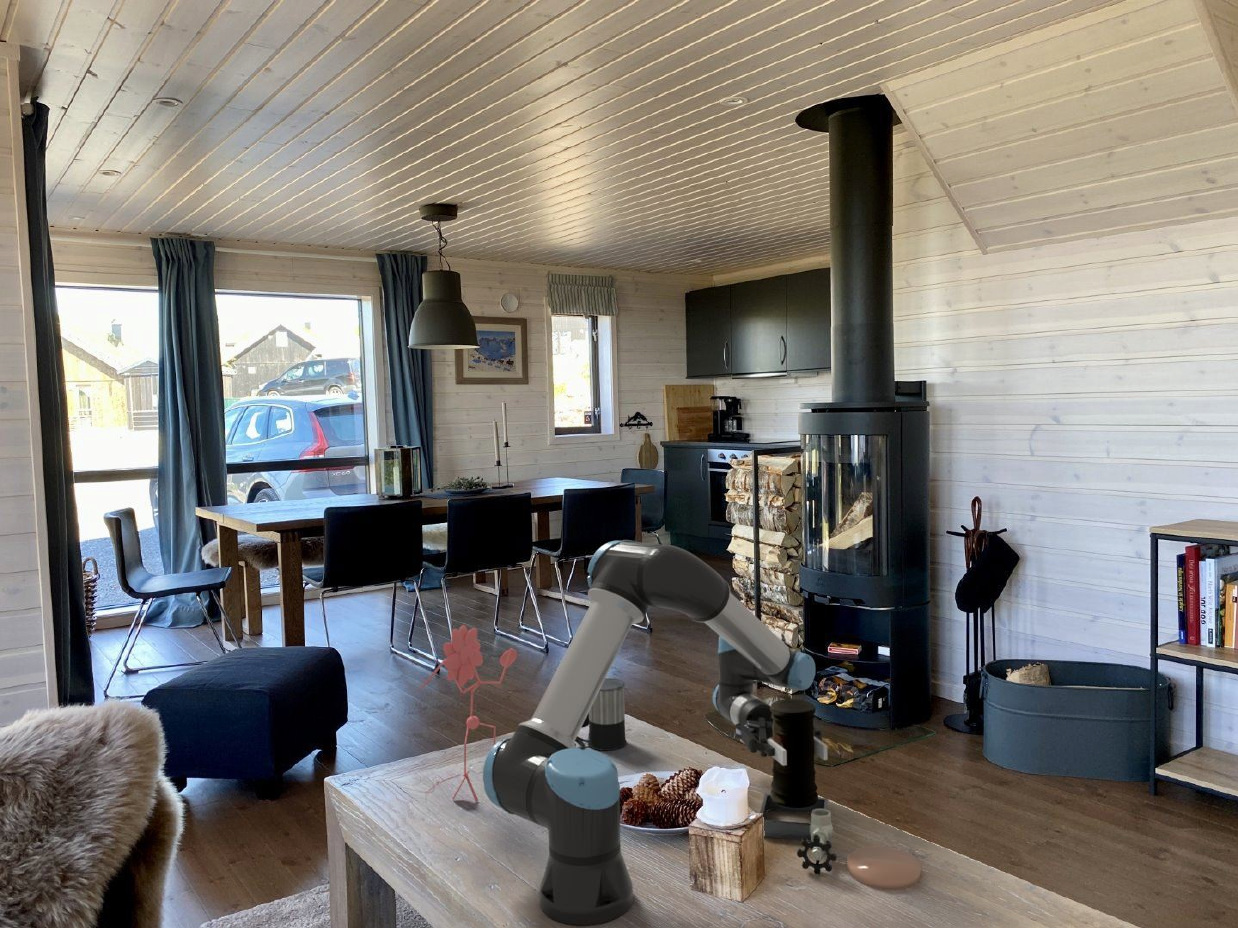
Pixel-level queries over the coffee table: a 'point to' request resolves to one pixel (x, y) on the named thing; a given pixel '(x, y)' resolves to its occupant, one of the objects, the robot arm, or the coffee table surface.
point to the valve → (819, 841)
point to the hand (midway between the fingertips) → (805, 755)
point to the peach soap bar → (884, 867)
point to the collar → (788, 828)
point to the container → (794, 753)
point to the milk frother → (606, 718)
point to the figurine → (468, 675)
